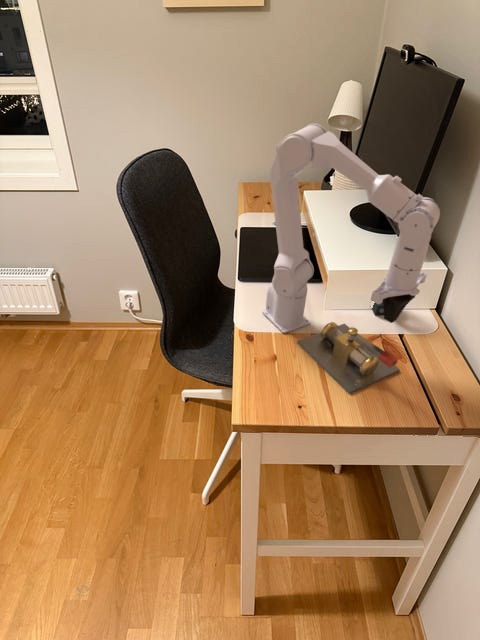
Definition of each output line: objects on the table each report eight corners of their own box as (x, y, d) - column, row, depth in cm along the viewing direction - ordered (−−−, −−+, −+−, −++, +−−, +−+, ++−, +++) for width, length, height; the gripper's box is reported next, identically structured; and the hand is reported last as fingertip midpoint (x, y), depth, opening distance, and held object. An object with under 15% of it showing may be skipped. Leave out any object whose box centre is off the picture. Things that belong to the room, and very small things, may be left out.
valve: (296, 342, 103) (299, 326, 100) (344, 325, 109) (347, 309, 106) (349, 394, 91) (354, 377, 88) (399, 371, 97) (405, 354, 94)
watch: (377, 320, 111) (387, 282, 105) (368, 301, 118) (377, 264, 111) (399, 320, 112) (411, 282, 105) (389, 301, 118) (399, 265, 111)
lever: (344, 338, 97) (346, 329, 96) (350, 335, 98) (352, 326, 97) (389, 370, 90) (392, 361, 88) (395, 366, 91) (398, 357, 89)
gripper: (399, 284, 81) (382, 342, 89) (446, 261, 88) (426, 317, 96) (369, 266, 85) (355, 323, 93) (416, 247, 92) (399, 301, 100)
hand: (389, 319), depth 95 cm, fingers closed
